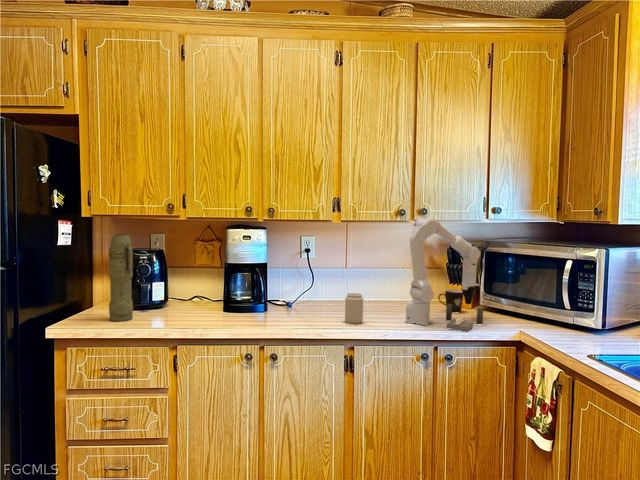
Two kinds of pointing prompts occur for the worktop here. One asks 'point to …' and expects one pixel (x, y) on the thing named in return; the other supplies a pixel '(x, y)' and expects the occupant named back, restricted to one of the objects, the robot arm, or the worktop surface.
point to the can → (354, 308)
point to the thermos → (120, 278)
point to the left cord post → (449, 311)
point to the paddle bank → (460, 320)
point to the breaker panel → (460, 325)
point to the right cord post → (479, 315)
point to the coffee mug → (453, 299)
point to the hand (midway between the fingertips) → (468, 303)
